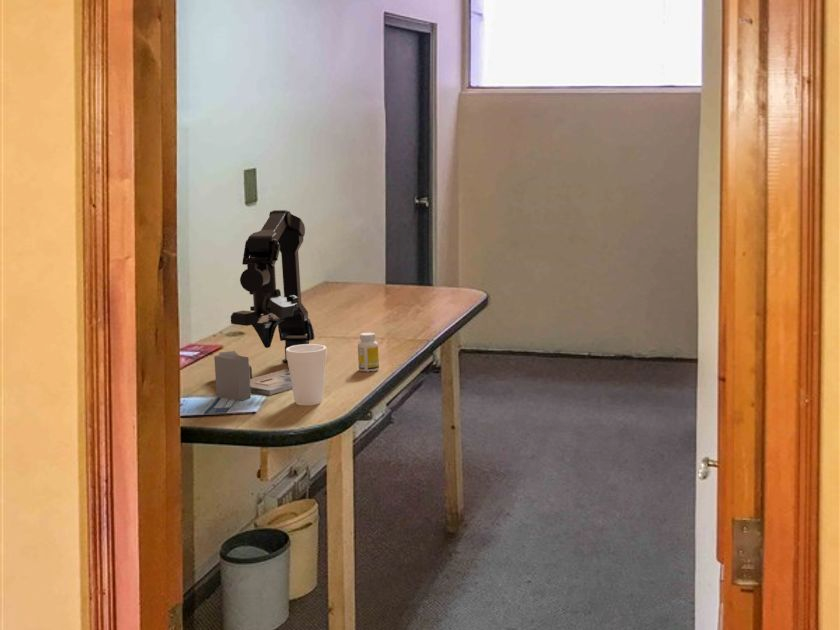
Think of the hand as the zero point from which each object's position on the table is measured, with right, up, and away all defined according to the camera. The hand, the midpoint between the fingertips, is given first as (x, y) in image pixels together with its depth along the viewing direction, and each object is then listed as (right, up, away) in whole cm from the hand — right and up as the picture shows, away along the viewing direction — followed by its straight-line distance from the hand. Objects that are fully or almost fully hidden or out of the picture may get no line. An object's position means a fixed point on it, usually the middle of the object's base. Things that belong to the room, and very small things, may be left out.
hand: (267, 347), depth 261 cm
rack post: (-7, -12, -8) cm, 16 cm away
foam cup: (+12, -13, -14) cm, 22 cm away
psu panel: (+2, -9, +4) cm, 10 cm away
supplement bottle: (+25, -7, +17) cm, 31 cm away
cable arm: (-8, -9, +4) cm, 13 cm away
